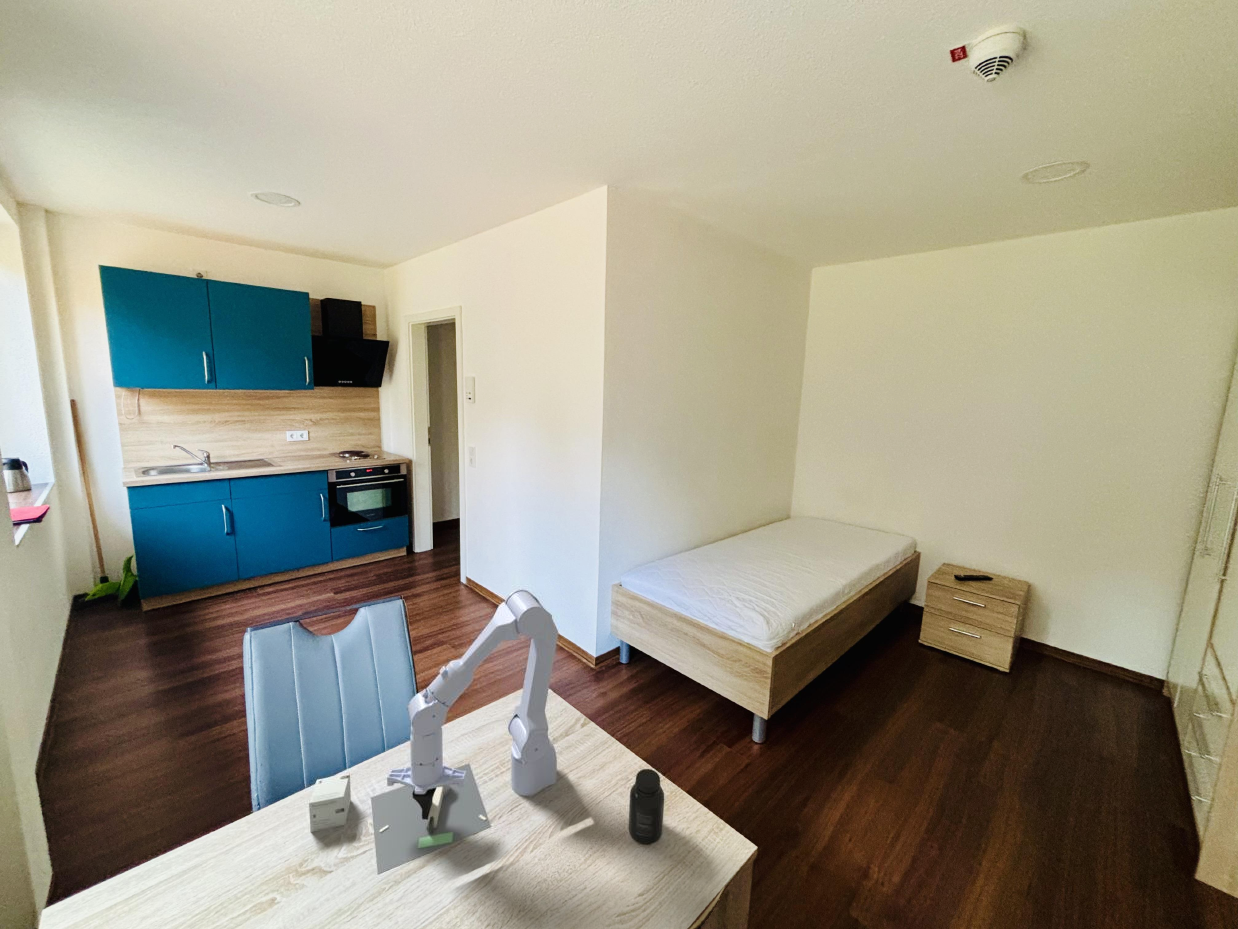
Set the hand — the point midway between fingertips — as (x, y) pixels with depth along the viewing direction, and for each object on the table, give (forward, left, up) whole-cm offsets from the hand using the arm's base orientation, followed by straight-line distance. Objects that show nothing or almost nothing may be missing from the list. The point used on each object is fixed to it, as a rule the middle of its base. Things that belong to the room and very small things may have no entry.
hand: (427, 815), depth 96 cm
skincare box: (+16, -10, -3) cm, 19 cm away
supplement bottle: (-38, +21, -3) cm, 43 cm away
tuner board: (-1, -2, -2) cm, 3 cm away
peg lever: (-2, -2, -1) cm, 3 cm away
